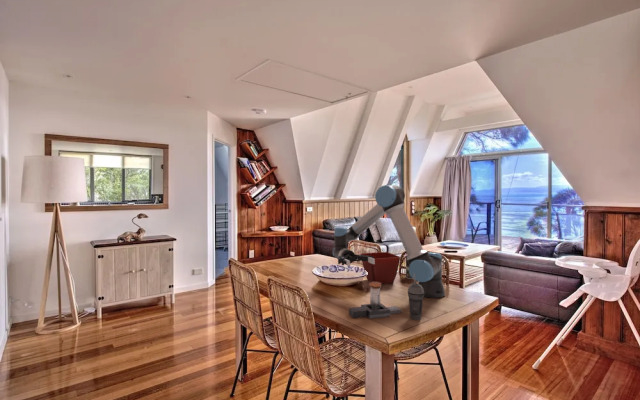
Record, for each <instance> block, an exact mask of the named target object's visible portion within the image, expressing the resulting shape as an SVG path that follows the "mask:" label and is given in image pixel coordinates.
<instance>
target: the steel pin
mask: <svg viewBox="0 0 640 400" xmlns="http://www.w3.org/2000/svg"><path fill="white" fill-rule="evenodd" d="M368 286H369V287H370V289H369V290H370V303H369V304H370V309H371V310H380V303H381V287H382V284H381V283H380V282H370V281H369V283H368Z"/></svg>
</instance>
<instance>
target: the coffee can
mask: <svg viewBox="0 0 640 400" xmlns="http://www.w3.org/2000/svg"><path fill="white" fill-rule="evenodd" d="M407 257H408V255H405V278H406V279H408V280H413V281H414V279H413V278H412V277H411V275H410V273H409V264H408V262H407Z"/></svg>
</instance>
